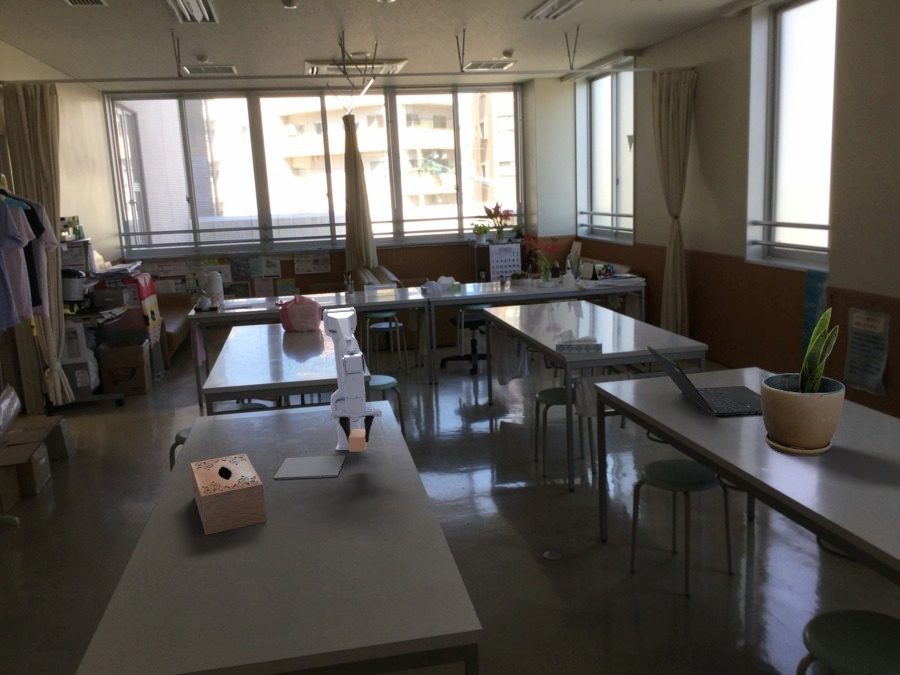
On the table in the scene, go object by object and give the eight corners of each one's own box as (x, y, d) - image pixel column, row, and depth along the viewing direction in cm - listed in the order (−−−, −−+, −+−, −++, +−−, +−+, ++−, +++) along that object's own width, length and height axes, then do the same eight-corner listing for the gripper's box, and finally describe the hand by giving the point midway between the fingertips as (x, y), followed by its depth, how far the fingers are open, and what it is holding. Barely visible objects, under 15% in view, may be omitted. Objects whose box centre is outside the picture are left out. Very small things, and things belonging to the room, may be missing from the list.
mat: (286, 459, 222) (286, 457, 222) (345, 457, 222) (345, 455, 222) (273, 479, 207) (273, 477, 207) (337, 476, 206) (337, 474, 206)
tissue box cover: (266, 522, 179) (262, 484, 178) (205, 536, 174) (200, 496, 172) (249, 487, 203) (245, 453, 201) (194, 498, 197) (190, 463, 195)
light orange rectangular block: (353, 442, 214) (352, 429, 213) (368, 441, 214) (367, 428, 213) (349, 451, 206) (348, 438, 205) (364, 451, 206) (364, 437, 205)
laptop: (787, 414, 243) (789, 357, 239) (675, 421, 242) (675, 364, 239) (744, 389, 276) (746, 339, 272) (645, 394, 275) (645, 344, 272)
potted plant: (833, 465, 197) (841, 319, 189) (750, 452, 210) (754, 314, 202) (847, 443, 213) (855, 307, 206) (769, 431, 226) (773, 303, 219)
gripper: (327, 400, 203) (331, 447, 206) (379, 398, 203) (382, 445, 206) (331, 394, 210) (335, 439, 213) (381, 391, 210) (384, 437, 213)
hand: (358, 441), depth 210 cm, fingers closed on light orange rectangular block, 4 cm apart
